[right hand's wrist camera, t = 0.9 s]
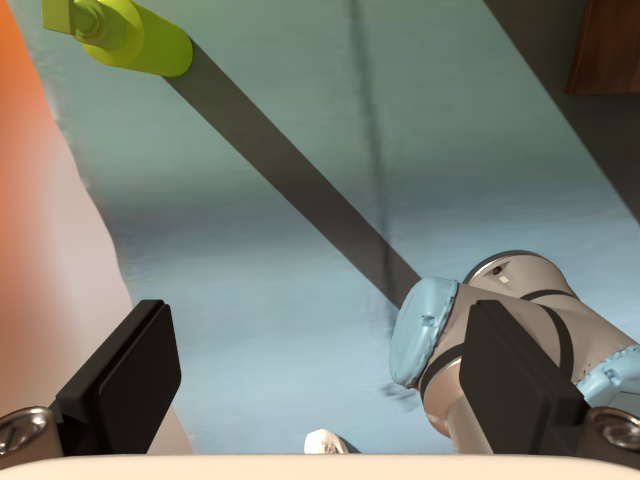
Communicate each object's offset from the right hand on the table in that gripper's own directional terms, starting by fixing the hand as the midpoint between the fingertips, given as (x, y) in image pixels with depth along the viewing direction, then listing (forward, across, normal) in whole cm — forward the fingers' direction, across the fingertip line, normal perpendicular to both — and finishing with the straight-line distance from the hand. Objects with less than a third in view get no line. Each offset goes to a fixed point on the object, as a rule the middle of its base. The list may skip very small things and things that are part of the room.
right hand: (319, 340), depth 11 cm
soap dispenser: (+40, +18, -13) cm, 45 cm away
